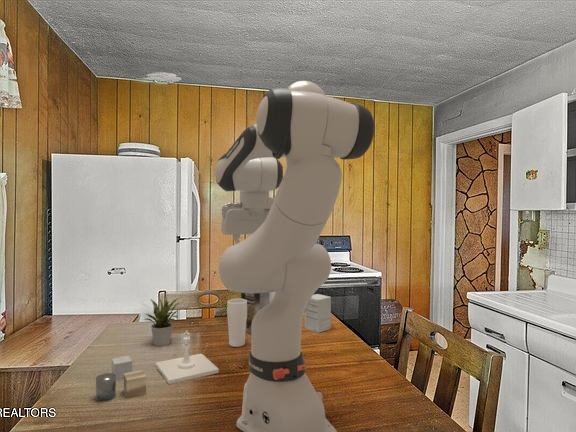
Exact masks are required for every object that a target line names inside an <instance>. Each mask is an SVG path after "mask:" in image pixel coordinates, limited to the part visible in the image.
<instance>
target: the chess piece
mask: <svg viewBox="0 0 576 432" xmlns="http://www.w3.org/2000/svg"><path fill="white" fill-rule="evenodd" d="M190 334H191V333H190V332H189V331H188V330H185V332H183V336H184V337H183V338H182V340H183V342H184V343H183V345H182V348H184V353H183V355H184V356H183V357H184V359H183V360H182V361H180V362H179V363H178V368H180V369H189V368H193V367H194V366H195V361H193V360H191V359H190V358H189V356H190V352H189V348H190V347H191V344H190V341H191V336H190Z"/></svg>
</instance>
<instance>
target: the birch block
mask: <svg viewBox="0 0 576 432" xmlns="http://www.w3.org/2000/svg"><path fill="white" fill-rule="evenodd" d="M123 392H124V395H125V397H126V399H129V398H134V397H138V396H143V395H146V394H147V375H146V374H145V371H144V370H143V369H140V370H135V371H132V372H129V373H124V379H123Z"/></svg>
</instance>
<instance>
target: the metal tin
mask: <svg viewBox="0 0 576 432" xmlns="http://www.w3.org/2000/svg"><path fill="white" fill-rule="evenodd" d="M116 381H117V380H116V375H115V374H113V373H112V372H107V373H102V374H99V375H98V376H96V377H95V400H96V401H97V402H101V403H103V402H109V401H111V400H113V399H115V398H116V397H117V394H116V393H117V386H116V385H117V384H116V383H117V382H116Z"/></svg>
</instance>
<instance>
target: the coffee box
mask: <svg viewBox="0 0 576 432" xmlns="http://www.w3.org/2000/svg"><path fill="white" fill-rule="evenodd" d="M240 294H241V295H240V299H245V300H247V321H246V332H245V333H249V334H251V324H252V320H253V318H254V316H255V314H256V313H257V312H258V311H259V310H260V309H262V308H264V307H265V306H267V305H268V304H269V303H270V292H266V293H254V294H248V293H240Z"/></svg>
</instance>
